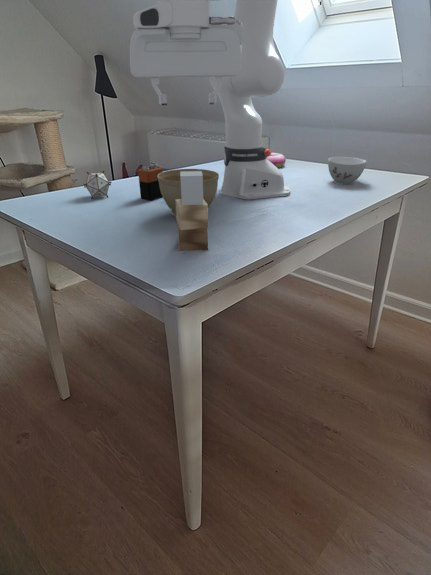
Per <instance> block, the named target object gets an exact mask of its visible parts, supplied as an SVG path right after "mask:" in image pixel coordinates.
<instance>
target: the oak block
mask: <svg viewBox="0 0 431 575" xmlns="http://www.w3.org/2000/svg"><path fill="white" fill-rule="evenodd" d="M175 200H176V216H177V217H176V223H177V226H178V225H179V228H180V230H189V229H201V228H208V229H209V208H208V205H207V203H206V202H205V200H204V199H203V205H182V199H175Z"/></svg>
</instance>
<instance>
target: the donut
mask: <svg viewBox="0 0 431 575" xmlns="http://www.w3.org/2000/svg"><path fill="white" fill-rule="evenodd" d="M266 159H267V160H269V161H270V162H271V163H272V164H273V165H275V166H276V167H277V168H278V169H279V168H282V167H283V166H284V165H285V164H286V160H287V159H286V157H285V155H283V154H282V153H278V152H271V155H270V156H269V157H267V158H266Z"/></svg>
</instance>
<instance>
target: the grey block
mask: <svg viewBox="0 0 431 575" xmlns="http://www.w3.org/2000/svg"><path fill="white" fill-rule="evenodd" d="M180 179H181V197H182V205H203V175H202V171H183V172H180Z"/></svg>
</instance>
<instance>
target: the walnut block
mask: <svg viewBox="0 0 431 575" xmlns="http://www.w3.org/2000/svg"><path fill="white" fill-rule="evenodd" d="M177 239H178V252H198V251H199V252H200V251H209V227H208V228H201V229H189V230H180V228H179V225H178V224H177Z"/></svg>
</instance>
